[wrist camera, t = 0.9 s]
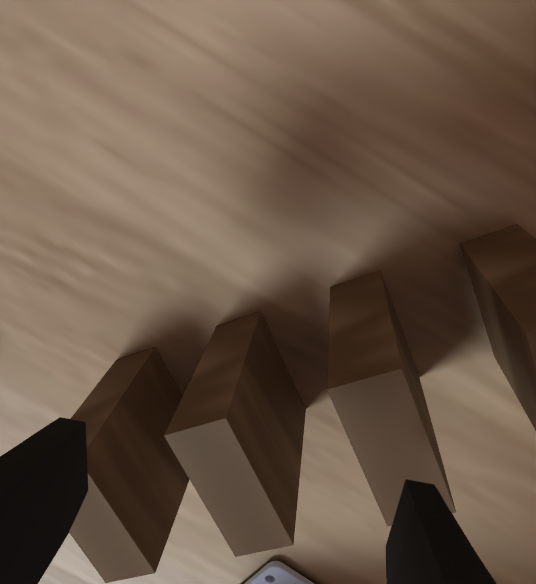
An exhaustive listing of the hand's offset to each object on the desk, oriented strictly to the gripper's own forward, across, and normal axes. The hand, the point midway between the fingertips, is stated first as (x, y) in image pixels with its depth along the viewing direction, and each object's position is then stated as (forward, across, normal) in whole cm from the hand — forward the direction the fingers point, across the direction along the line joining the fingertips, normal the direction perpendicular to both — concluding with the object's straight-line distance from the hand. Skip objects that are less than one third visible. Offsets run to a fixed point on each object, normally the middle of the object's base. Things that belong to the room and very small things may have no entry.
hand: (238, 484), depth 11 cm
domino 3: (+10, -4, +1) cm, 11 cm away
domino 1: (+10, +5, +6) cm, 12 cm away
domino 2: (+10, 0, +3) cm, 10 cm away
